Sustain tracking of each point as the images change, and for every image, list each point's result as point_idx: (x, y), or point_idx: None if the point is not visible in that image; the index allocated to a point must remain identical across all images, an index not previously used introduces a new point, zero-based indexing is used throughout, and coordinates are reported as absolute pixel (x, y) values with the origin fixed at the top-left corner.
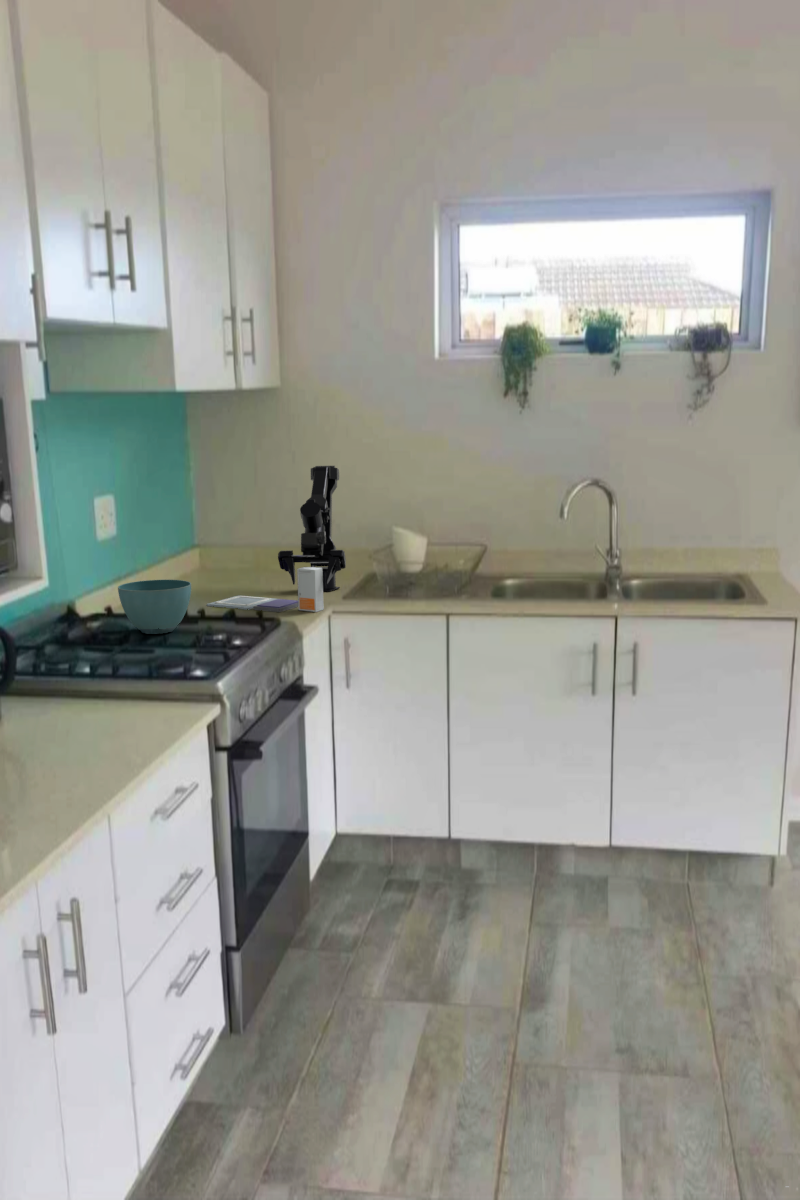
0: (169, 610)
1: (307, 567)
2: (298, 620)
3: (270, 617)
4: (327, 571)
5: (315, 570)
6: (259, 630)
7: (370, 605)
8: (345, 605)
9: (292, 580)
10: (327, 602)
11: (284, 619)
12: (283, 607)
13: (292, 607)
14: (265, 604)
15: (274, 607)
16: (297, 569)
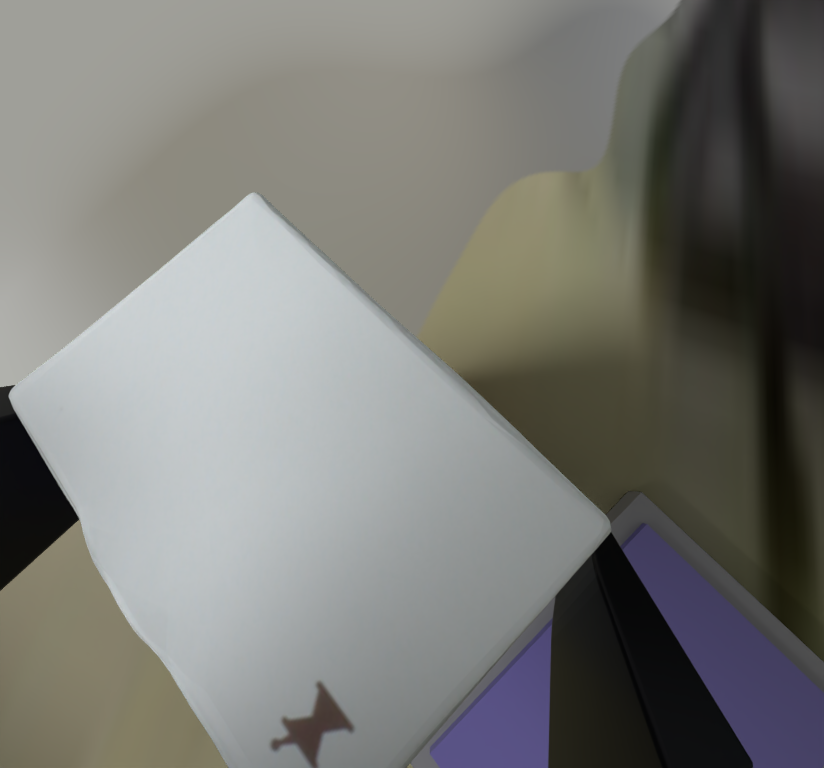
0: None
1: (283, 619)
2: (539, 203)
3: (703, 339)
4: (3, 414)
5: (242, 210)
6: (771, 44)
7: None
8: None
9: (617, 546)
10: (208, 746)
11: (616, 253)
12: None
13: None
14: (770, 712)
15: (681, 559)
16: (601, 513)
